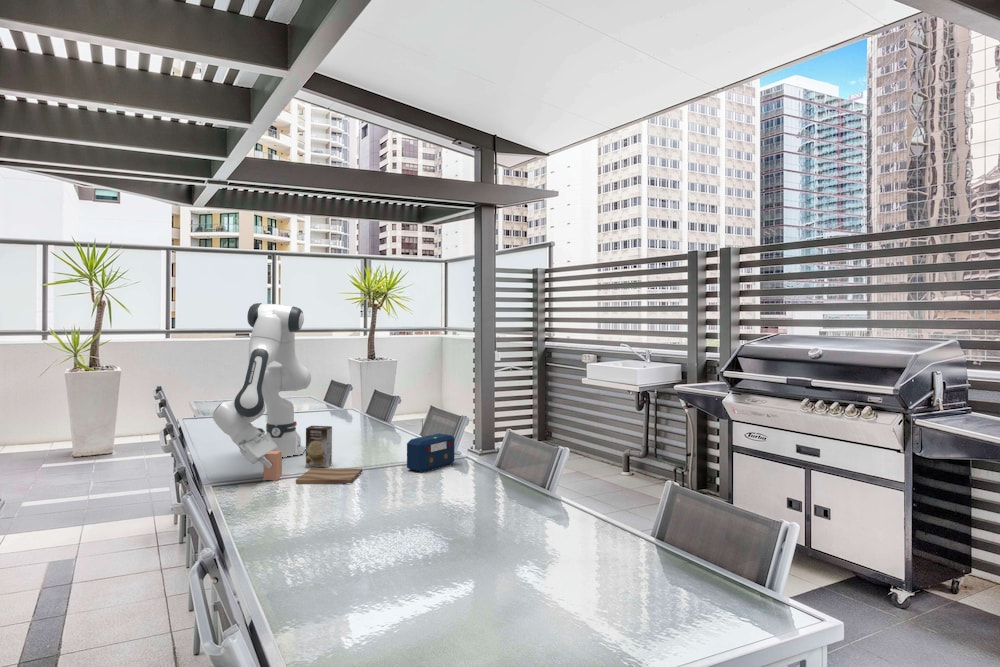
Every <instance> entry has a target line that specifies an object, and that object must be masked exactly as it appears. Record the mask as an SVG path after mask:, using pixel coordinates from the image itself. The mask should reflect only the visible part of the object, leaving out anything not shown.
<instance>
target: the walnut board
mask: <svg viewBox="0 0 1000 667" xmlns="http://www.w3.org/2000/svg"><path fill="white" fill-rule="evenodd" d="M361 472H362V473H363V468H360V467H359V468H358V467H356V468H354V467H353V468H352V467H351V468H347V467H345V468H343V467H342V468H341V467H338V468H336V467H332V468H329V467H328V468H310V469H308V470H307V471H305V472H304V473H303V474H302V475H301V476H298V477H297V478H296V479H295V484H296V485H343V484H342V483H352V482H355V480H357V478H358V477H359V476H360V475H361V474H362V473H361ZM360 473H361V474H360ZM359 474H360V475H359ZM358 475H359V476H358ZM357 476H358V477H357ZM352 484H353V483H352Z"/></svg>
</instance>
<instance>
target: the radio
mask: <svg viewBox="0 0 1000 667" xmlns="http://www.w3.org/2000/svg"><path fill="white" fill-rule="evenodd" d="M423 422H424V421H423V419H421V436H419V437H415V438H411V439H410V440H408V442H407V443H406V468H407V469H409V470H410V469H412V470H411V471H414V470H416V471H415V472H419V471H421V472H420V473H424V471H426V472H429V471H432V469H433V470H436V468H437V469H440V468H443V466H444V467H447V466H446V465H448V466H451V465H452V464H454V462H455V436H453V435H451V434H445V433H440V432H439V433H435V434H430V435H425V436H424V430H423V428H424V427H423V426H424V424H423ZM450 464H451V465H450ZM439 467H440V468H439ZM428 470H429V471H428Z"/></svg>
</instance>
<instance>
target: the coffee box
mask: <svg viewBox="0 0 1000 667" xmlns="http://www.w3.org/2000/svg"><path fill="white" fill-rule="evenodd" d="M305 447H306V450H305V468H309V467H325V468H326V467H328V466H329V467H331V466H332V465H333V462H332V461H333V458H332V457H333V455H332V454H333V426H331V425H310V426H307V427H306V428H305ZM331 464H332V465H331ZM330 465H331V466H330ZM329 467H328V468H329Z"/></svg>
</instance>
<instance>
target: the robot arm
mask: <svg viewBox="0 0 1000 667" xmlns="http://www.w3.org/2000/svg"><path fill="white" fill-rule="evenodd" d="M304 316H305V315H304V312H303V310H302V309H301V308H300V307H297V306H288V305H285V304H278V303H277V304H275V303H262V302H259V303H258V302H257V303H253V304H252V305H250V306H249V309H248V311H247V323H248V325H249V326H250V327H251V328H252V331H251V334H250V337H249V338H250V339H249V343H248V366H247V371H246V374H245V375H246V376H245V379H244V383H243V385H242V388H241V389H240V391H239V392H238V393H237V395H236V396H235V398H234V399H233V400H228V401H222V402H221V403H220V404H219V405H218V406H217V407H216V408H215V410H214V411H213V414H212V419H213V421H214V423H215V424H216V426H217V427H218V428H219V429H220V430H221V431H222V432H223V433H224V434H226V435H228V436H229V438H230V440H231V441H232V442H233V443H234V444H235V445H236V446H237V447H238V449H239V452H240V454H241V455H242V456H243V457H244V458H245V459H246V460H247V462H248V463H249V464H251V465H254V464H256V463H257V462H259V463H260V464H262V465H263V466H264V465H266V466H267V467H268V468H270V467H272V466H273V463H272V462H271V461H268V460H267V459H266V458H265V457H264V455H266V453H268V452H270V451H282V457H283V458H288V457H287V456H291V457H294V456H293V455H298V456H301V455H300V454H303V455H304V453H305V451H306V450H305V448H306V445H305V446H304V445H302V444H301V442H302V440H301V439H302V438H301V436H300V435H299V433H298V432H297V431H296V428H297V425H298V424H297V423H298V422H297V421H296V420H295V406H294V404H293V403H292V401H290V400H288V399H286V398H283V397H281V396H280V395H279V393H280V392H297V391H301V390H305V389H308V388H309V386H310V384H311V383H312V382H311V381H312V374H311V372H310V370H309V369H308V368H307V367H306V366H304V365H303V364H302V363H301V362H300V360H298V358H297V355H296V350H295V349H296V346H295V345H296V344H295V342H296V341H295V338H296V337H295V334H296V332H297V333H298V332H299V330H301V329H302V327H303V325H304V321H305V318H304ZM272 362H277V363H278V364H280V366H276V365H275V366H269V365H270V364H271V363H272ZM265 411H266V416H267V418H266V419H267V423H266V424H265V425H266V426H265V429H266V430H265V429H263V428H260V427H257V426H254V424H252V423H253V422H254V421H256V420H257V419H259V418H260V417H262V416H263V415H264V413H265ZM304 450H305V451H304ZM303 452H304V453H303Z"/></svg>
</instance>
